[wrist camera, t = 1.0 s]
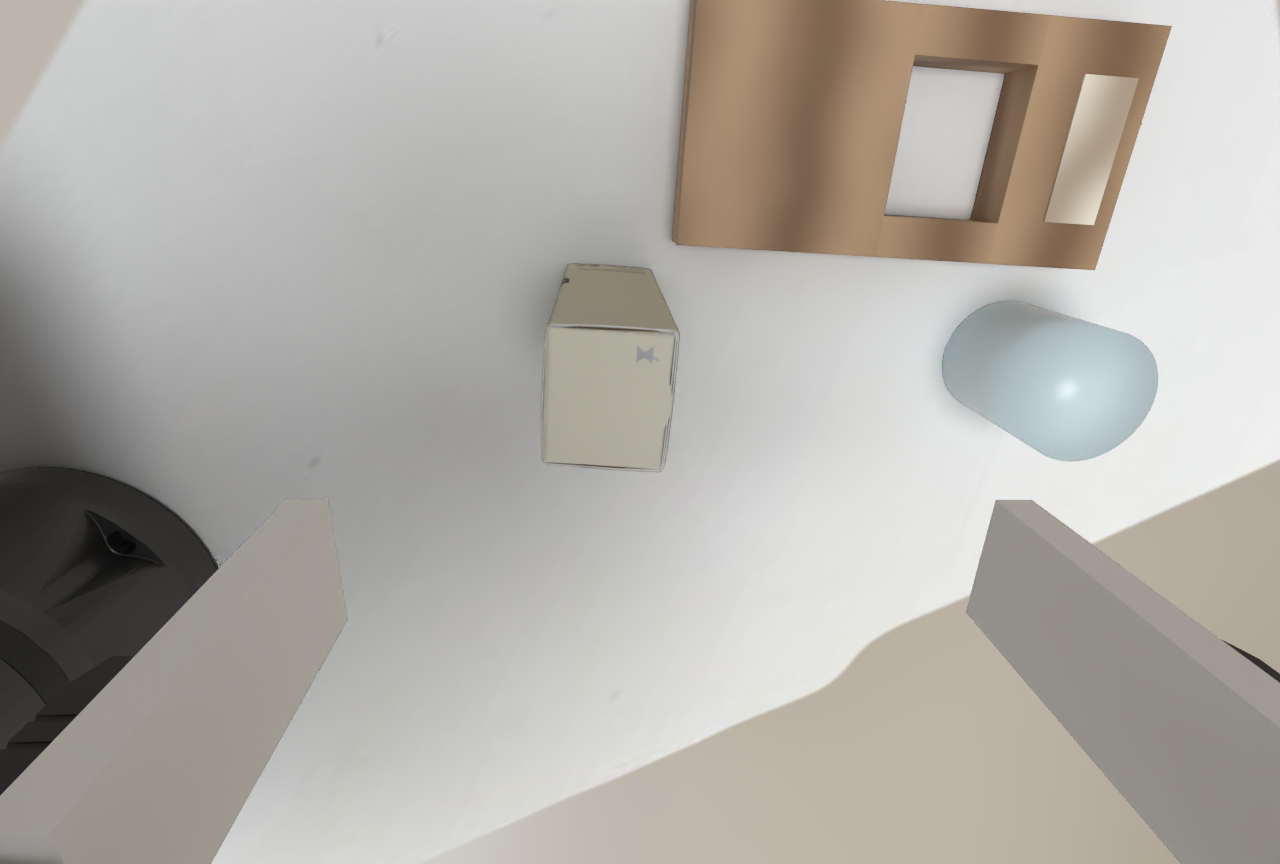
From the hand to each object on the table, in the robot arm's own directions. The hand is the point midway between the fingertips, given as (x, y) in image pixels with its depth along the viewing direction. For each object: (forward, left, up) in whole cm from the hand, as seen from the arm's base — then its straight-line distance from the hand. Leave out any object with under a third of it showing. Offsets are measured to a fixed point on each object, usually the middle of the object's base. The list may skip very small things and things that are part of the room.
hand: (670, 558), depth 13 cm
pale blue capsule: (+20, -1, -22) cm, 29 cm away
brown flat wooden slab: (+12, +9, -22) cm, 26 cm away
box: (-1, 0, -22) cm, 22 cm away
